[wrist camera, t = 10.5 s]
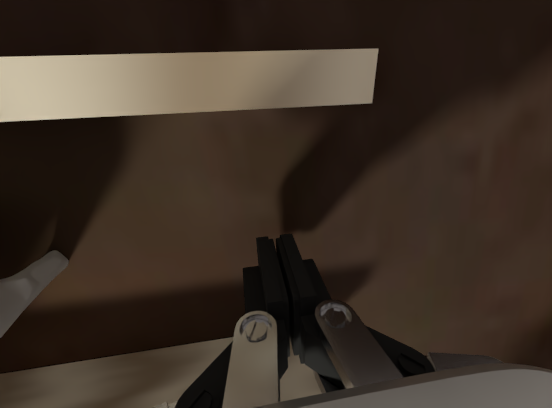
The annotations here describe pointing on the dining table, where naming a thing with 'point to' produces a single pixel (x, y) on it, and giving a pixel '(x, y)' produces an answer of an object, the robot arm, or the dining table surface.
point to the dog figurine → (27, 286)
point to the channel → (163, 100)
